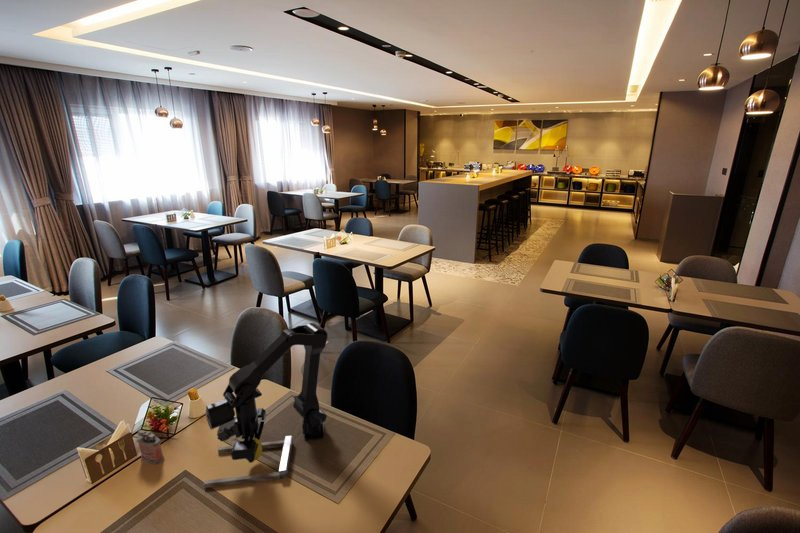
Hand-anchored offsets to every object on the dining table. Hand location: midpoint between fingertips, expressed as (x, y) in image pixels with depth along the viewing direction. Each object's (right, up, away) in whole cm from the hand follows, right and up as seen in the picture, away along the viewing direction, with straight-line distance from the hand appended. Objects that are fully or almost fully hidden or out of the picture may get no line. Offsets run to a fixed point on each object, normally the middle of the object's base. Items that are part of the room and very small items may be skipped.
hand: (253, 454), depth 120 cm
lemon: (0, -2, +1) cm, 2 cm away
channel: (-1, -3, +1) cm, 3 cm away
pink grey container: (-33, -3, +3) cm, 33 cm away
